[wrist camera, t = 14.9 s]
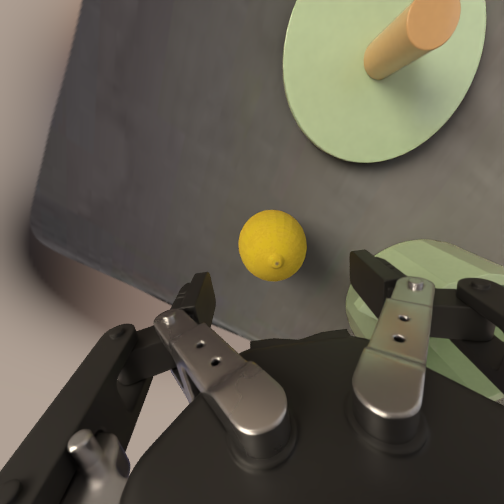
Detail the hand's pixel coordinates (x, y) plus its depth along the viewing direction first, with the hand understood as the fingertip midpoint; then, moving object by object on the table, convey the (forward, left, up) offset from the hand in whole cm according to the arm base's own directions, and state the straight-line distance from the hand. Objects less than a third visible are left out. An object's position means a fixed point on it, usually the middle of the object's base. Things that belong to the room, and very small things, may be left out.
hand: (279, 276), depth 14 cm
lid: (-10, -12, -10) cm, 18 cm away
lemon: (0, 0, -11) cm, 11 cm away
